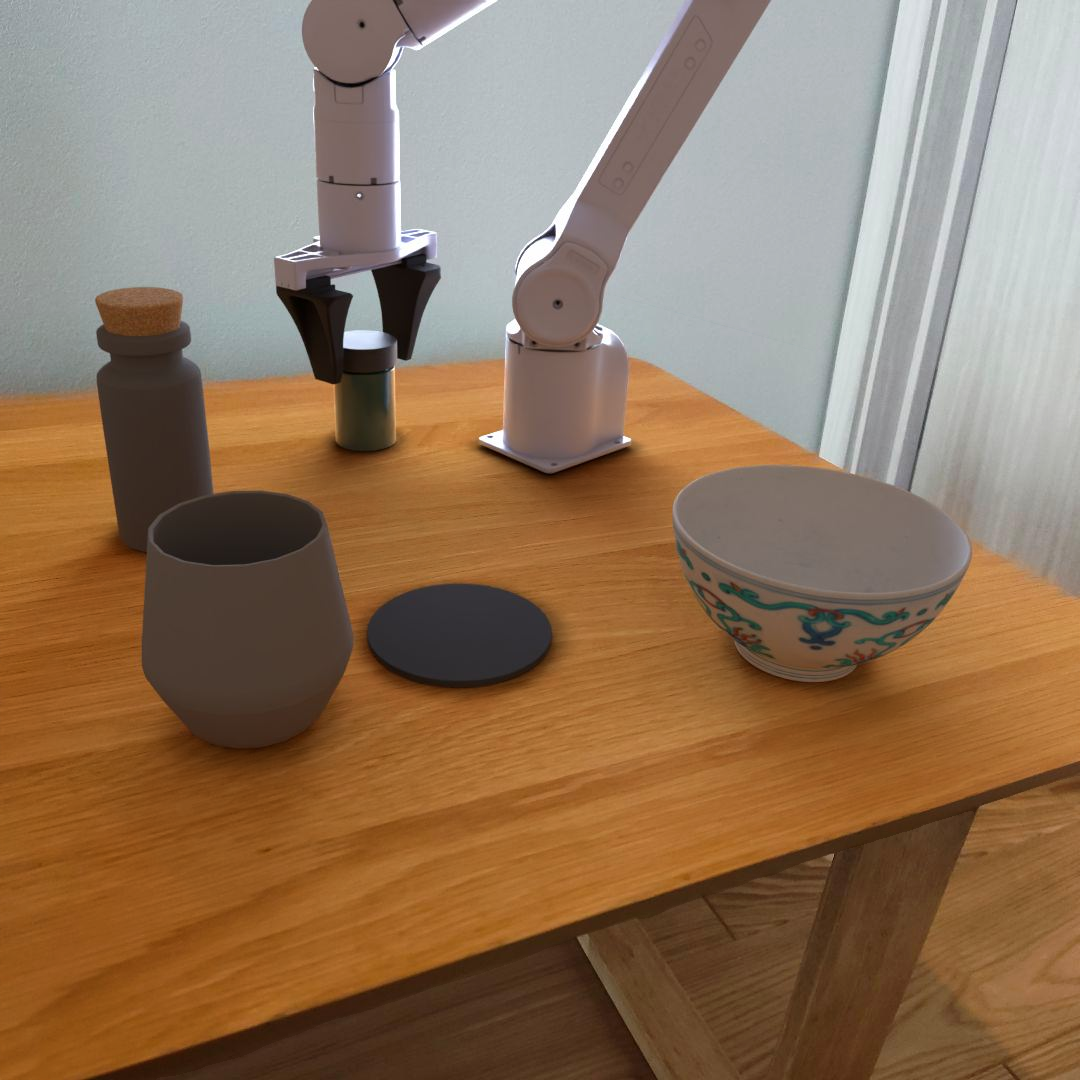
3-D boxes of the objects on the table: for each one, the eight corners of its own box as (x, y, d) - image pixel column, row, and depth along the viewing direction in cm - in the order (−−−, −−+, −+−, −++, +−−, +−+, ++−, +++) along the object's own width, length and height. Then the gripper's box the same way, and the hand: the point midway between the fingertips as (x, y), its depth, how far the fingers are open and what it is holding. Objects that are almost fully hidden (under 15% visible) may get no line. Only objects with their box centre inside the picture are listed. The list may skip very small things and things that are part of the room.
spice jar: (371, 425, 85) (368, 334, 82) (408, 441, 82) (407, 347, 79) (323, 438, 82) (319, 344, 79) (360, 456, 79) (356, 359, 76)
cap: (317, 356, 80) (316, 334, 79) (377, 348, 82) (376, 326, 82) (348, 376, 76) (347, 353, 75) (409, 366, 79) (409, 343, 78)
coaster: (468, 572, 64) (468, 566, 64) (589, 639, 58) (590, 633, 58) (329, 629, 58) (329, 623, 57) (449, 712, 51) (449, 705, 51)
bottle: (189, 559, 64) (160, 314, 57) (100, 547, 65) (61, 303, 58) (233, 519, 69) (211, 289, 62) (150, 507, 70) (120, 279, 63)
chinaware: (994, 722, 53) (1034, 587, 49) (705, 742, 50) (725, 601, 47) (864, 576, 66) (888, 461, 62) (630, 586, 63) (641, 467, 60)
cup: (191, 653, 55) (169, 476, 50) (370, 663, 55) (365, 487, 50) (120, 771, 46) (86, 571, 42) (333, 784, 46) (322, 584, 42)
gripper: (387, 163, 81) (390, 337, 87) (237, 182, 70) (253, 379, 76) (459, 175, 77) (457, 355, 83) (312, 196, 66) (323, 402, 73)
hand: (364, 368), depth 79 cm, fingers open, 7 cm apart
